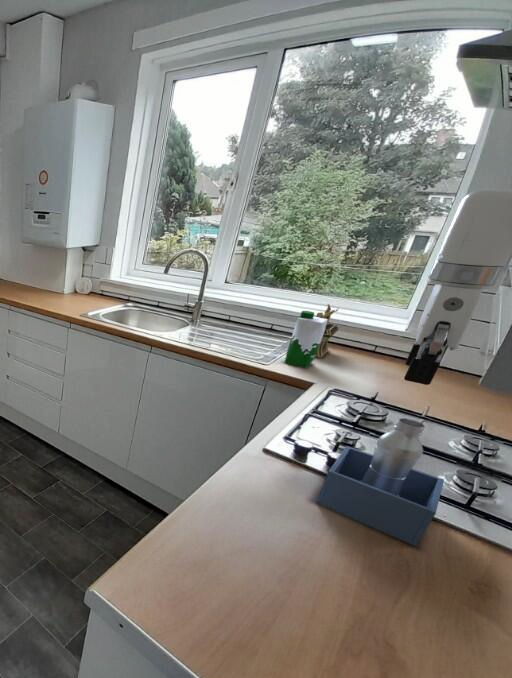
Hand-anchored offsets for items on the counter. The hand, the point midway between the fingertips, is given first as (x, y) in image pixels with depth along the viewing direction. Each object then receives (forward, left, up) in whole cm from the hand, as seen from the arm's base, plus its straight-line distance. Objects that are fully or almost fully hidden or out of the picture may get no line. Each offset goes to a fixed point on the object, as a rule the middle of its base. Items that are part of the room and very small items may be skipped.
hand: (416, 374), depth 72 cm
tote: (-2, -3, -30) cm, 30 cm away
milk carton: (+34, -87, -30) cm, 98 cm away
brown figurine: (+34, -109, -30) cm, 118 cm away
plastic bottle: (-2, -3, -30) cm, 30 cm away
